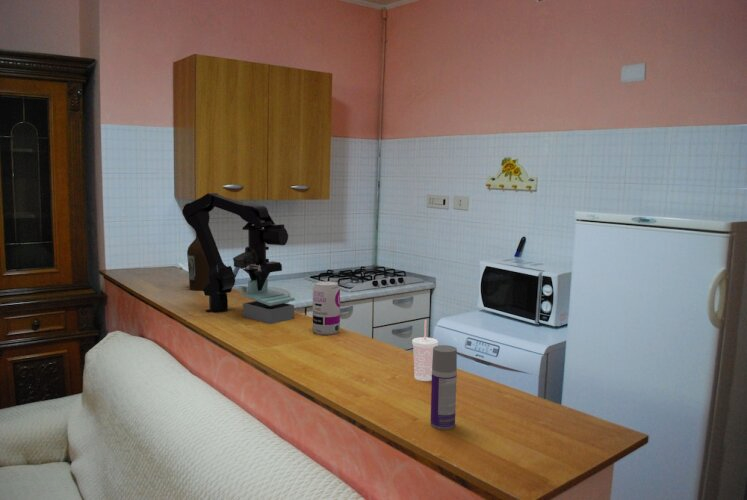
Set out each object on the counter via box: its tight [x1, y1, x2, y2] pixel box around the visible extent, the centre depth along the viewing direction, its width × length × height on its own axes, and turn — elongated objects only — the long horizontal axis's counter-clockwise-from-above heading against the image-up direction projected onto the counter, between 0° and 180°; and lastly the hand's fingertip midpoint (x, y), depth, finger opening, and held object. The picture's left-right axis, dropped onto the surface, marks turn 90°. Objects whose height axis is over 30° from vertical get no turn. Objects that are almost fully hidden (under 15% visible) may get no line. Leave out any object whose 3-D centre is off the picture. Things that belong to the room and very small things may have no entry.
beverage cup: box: [411, 319, 439, 382], centre depth 136 cm, size 6×6×14 cm
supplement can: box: [312, 280, 341, 336], centre depth 175 cm, size 8×8×15 cm
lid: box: [241, 278, 296, 306], centre depth 190 cm, size 14×10×6 cm
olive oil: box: [186, 234, 209, 292], centre depth 239 cm, size 11×11×25 cm
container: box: [430, 344, 458, 431], centre depth 110 cm, size 5×5×15 cm
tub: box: [242, 300, 295, 325], centre depth 191 cm, size 14×10×5 cm
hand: (257, 290), depth 193 cm, fingers closed on lid
